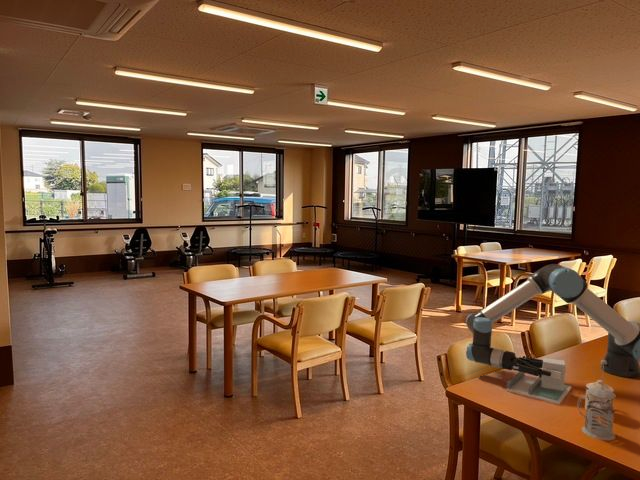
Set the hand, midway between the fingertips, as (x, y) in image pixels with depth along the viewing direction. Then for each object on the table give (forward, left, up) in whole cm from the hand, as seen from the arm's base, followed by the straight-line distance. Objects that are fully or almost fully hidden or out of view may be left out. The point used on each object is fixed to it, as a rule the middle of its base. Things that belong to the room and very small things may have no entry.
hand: (562, 373), depth 189 cm
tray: (+9, 0, -9) cm, 13 cm away
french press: (-16, +25, -9) cm, 31 cm away
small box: (+3, 0, -7) cm, 8 cm away
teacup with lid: (-14, +5, -9) cm, 18 cm away
